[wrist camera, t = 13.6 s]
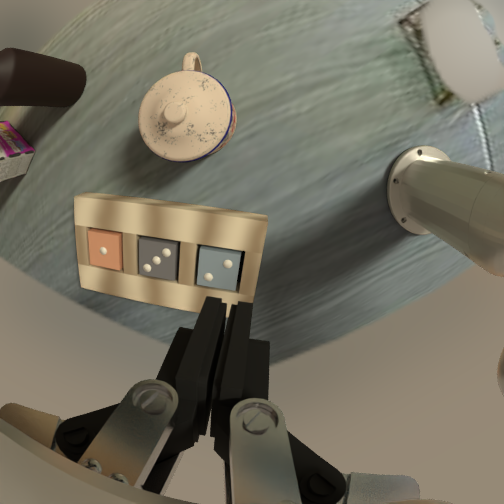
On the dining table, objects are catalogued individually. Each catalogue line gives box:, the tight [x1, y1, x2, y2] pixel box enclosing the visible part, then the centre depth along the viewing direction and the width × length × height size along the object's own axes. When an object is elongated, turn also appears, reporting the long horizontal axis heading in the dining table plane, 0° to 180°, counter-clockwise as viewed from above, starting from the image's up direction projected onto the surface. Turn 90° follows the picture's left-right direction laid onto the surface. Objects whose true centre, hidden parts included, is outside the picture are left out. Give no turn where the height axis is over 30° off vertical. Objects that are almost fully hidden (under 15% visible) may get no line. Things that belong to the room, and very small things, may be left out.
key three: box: [139, 235, 181, 281], centre depth 36 cm, size 5×5×3 cm
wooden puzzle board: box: [74, 192, 268, 317], centre depth 36 cm, size 26×14×3 cm, turn 81°
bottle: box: [0, 48, 86, 107], centre depth 19 cm, size 7×7×20 cm
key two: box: [197, 245, 241, 291], centre depth 36 cm, size 5×5×3 cm
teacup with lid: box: [138, 53, 237, 162], centre depth 25 cm, size 12×9×12 cm
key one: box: [88, 228, 123, 270], centre depth 35 cm, size 5×5×3 cm
